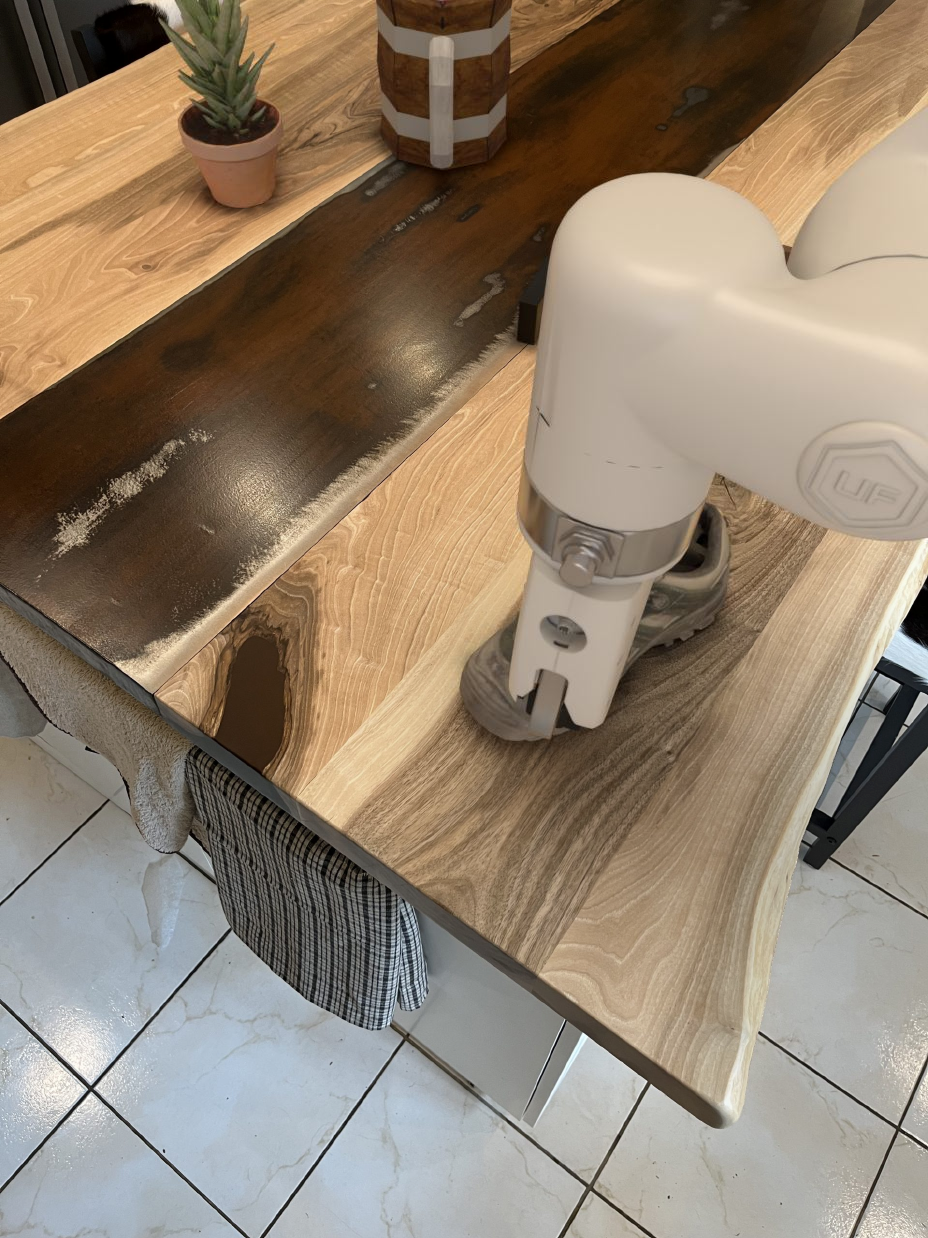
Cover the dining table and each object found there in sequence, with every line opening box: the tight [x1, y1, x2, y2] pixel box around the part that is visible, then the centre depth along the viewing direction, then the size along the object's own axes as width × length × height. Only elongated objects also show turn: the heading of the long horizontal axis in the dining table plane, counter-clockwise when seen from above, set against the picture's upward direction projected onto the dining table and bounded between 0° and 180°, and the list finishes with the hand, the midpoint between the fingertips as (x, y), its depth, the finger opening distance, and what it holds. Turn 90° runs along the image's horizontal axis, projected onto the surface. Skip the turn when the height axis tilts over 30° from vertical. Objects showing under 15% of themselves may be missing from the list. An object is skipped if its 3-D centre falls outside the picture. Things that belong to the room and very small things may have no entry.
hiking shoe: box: [459, 500, 732, 742], centre depth 59 cm, size 9×21×12 cm, turn 129°
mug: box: [375, 0, 513, 171], centre depth 92 cm, size 20×14×15 cm
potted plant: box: [158, 0, 285, 209], centre depth 83 cm, size 10×10×25 cm
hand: (555, 711), depth 54 cm, fingers closed
